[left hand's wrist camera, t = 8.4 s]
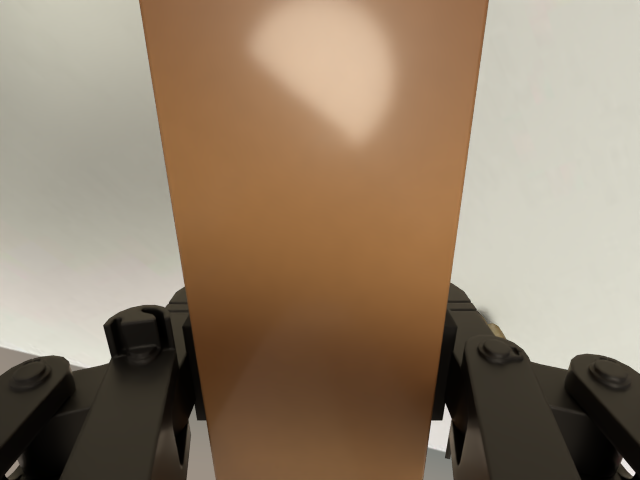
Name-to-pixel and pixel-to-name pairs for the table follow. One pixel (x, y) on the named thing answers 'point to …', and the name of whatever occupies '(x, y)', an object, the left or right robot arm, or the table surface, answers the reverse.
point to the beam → (316, 219)
